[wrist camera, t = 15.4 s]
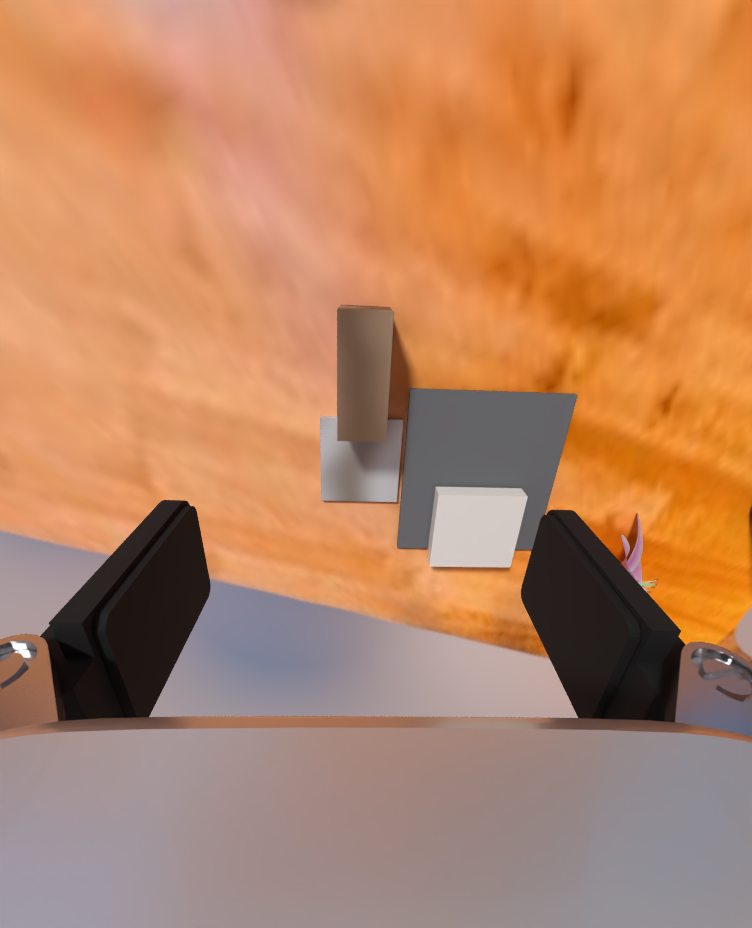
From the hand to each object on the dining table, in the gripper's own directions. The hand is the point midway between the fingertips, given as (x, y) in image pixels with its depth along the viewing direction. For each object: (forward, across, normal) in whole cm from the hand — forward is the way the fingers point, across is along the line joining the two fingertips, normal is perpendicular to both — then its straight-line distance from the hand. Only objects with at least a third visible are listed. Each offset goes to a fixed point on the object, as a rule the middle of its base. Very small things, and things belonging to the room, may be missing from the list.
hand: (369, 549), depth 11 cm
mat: (+23, -10, +9) cm, 27 cm away
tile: (+21, -10, +10) cm, 26 cm away
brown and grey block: (+23, 0, +4) cm, 23 cm away
